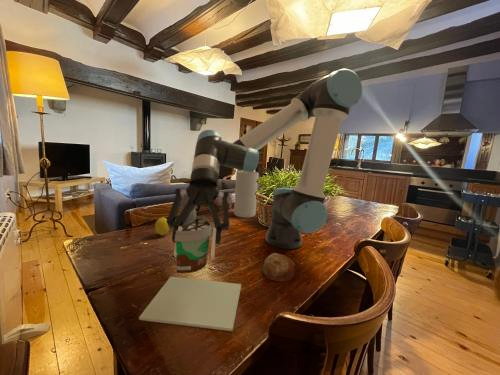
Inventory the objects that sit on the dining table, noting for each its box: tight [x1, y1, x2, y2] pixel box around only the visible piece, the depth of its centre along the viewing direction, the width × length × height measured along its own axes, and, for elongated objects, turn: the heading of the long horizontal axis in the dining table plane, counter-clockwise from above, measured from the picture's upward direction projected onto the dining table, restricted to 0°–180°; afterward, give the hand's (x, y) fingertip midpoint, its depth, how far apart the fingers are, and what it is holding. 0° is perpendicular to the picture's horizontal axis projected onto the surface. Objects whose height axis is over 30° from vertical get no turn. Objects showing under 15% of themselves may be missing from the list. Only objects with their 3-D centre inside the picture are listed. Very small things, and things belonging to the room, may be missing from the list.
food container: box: [175, 215, 214, 274], centre depth 53 cm, size 12×6×10 cm, turn 173°
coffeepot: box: [179, 186, 202, 227], centre depth 109 cm, size 15×9×18 cm, turn 59°
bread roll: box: [261, 252, 297, 283], centre depth 71 cm, size 10×10×8 cm
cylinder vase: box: [233, 170, 260, 219], centre depth 130 cm, size 12×12×25 cm
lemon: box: [154, 216, 170, 237], centre depth 93 cm, size 6×6×8 cm
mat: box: [138, 276, 242, 332], centre depth 56 cm, size 20×16×1 cm
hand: (194, 256), depth 50 cm, fingers closed on food container, 7 cm apart
